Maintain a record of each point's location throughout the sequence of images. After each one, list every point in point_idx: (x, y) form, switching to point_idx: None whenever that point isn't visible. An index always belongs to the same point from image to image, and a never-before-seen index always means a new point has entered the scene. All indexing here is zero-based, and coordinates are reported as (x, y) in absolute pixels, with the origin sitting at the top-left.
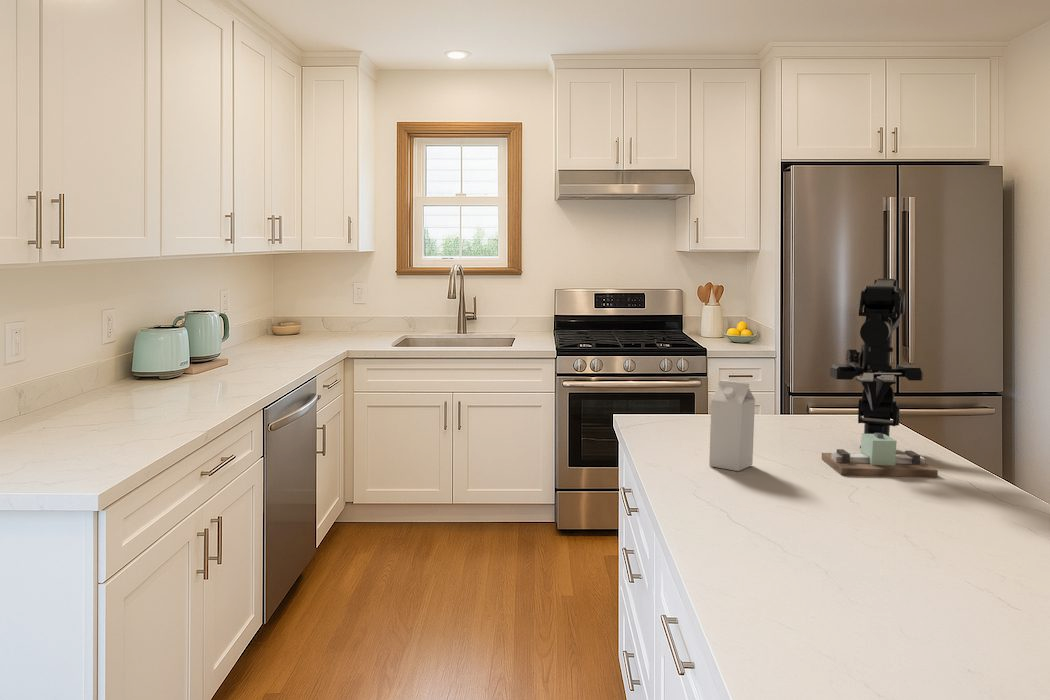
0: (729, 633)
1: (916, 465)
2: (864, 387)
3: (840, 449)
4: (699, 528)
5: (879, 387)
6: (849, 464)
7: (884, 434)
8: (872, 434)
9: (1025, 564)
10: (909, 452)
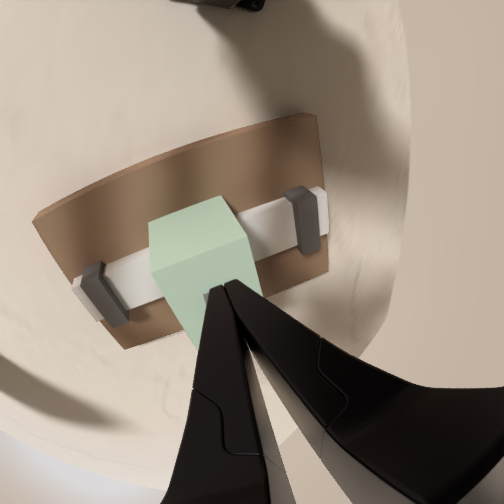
0: (158, 487)
1: (296, 250)
2: (186, 477)
3: (90, 284)
4: (89, 464)
5: (329, 465)
6: (132, 316)
7: (246, 244)
8: (196, 268)
9: (288, 431)
10: (302, 225)
